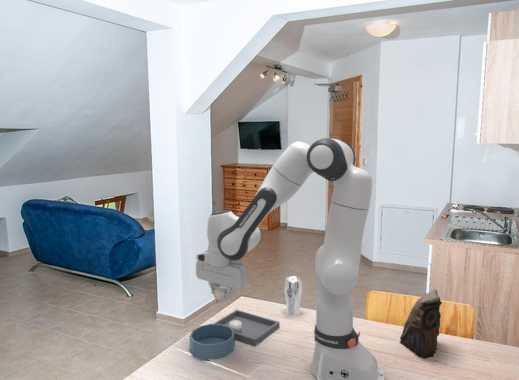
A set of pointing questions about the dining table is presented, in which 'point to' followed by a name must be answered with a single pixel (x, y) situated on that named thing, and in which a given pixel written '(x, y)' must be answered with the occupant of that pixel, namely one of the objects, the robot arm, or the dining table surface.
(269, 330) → the tray
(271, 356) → the dining table surface
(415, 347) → the owl
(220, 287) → the stone
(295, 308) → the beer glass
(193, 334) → the bowl
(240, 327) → the stone
